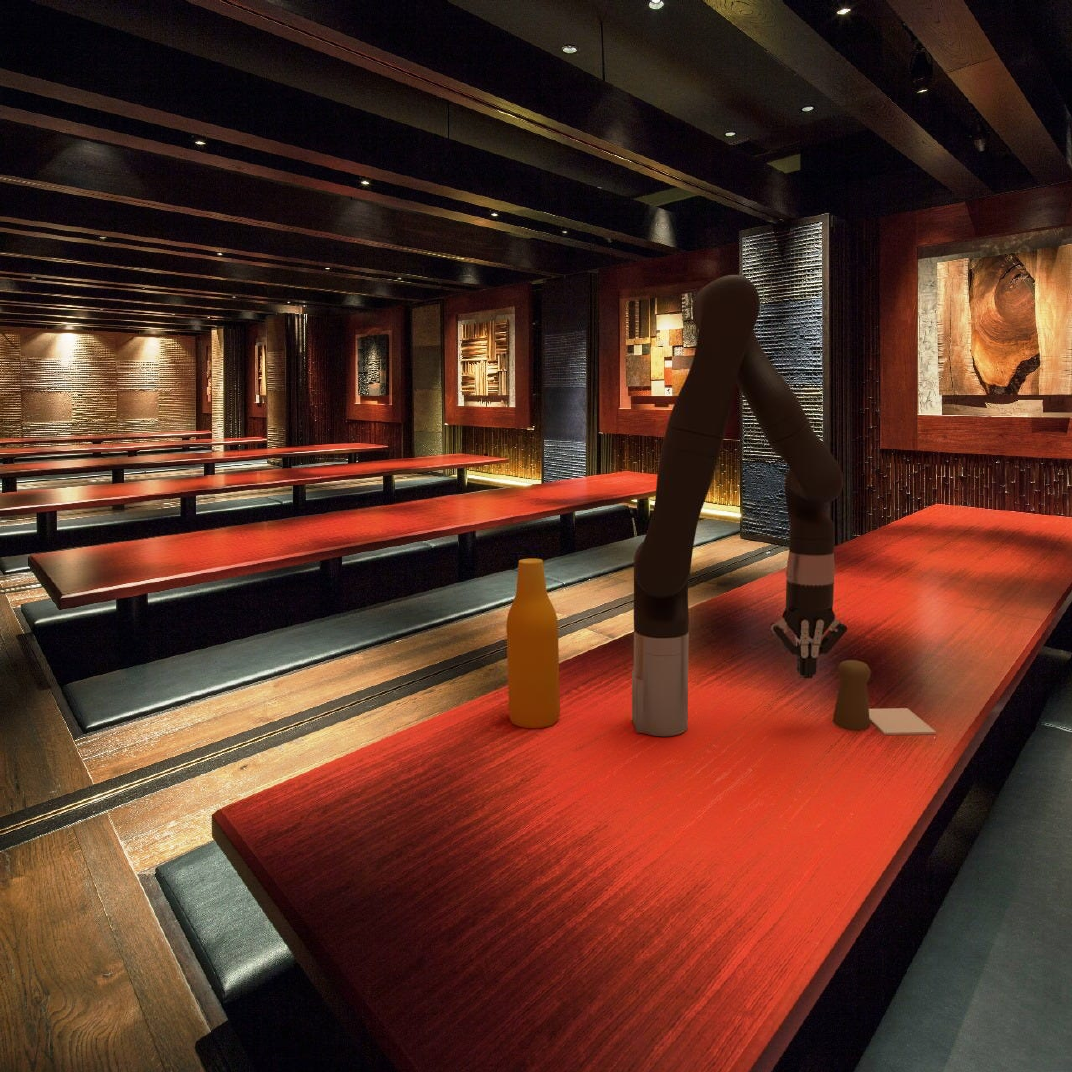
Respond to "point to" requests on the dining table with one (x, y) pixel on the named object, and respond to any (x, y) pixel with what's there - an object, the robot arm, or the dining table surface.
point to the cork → (852, 696)
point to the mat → (898, 722)
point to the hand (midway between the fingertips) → (806, 676)
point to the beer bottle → (532, 651)
